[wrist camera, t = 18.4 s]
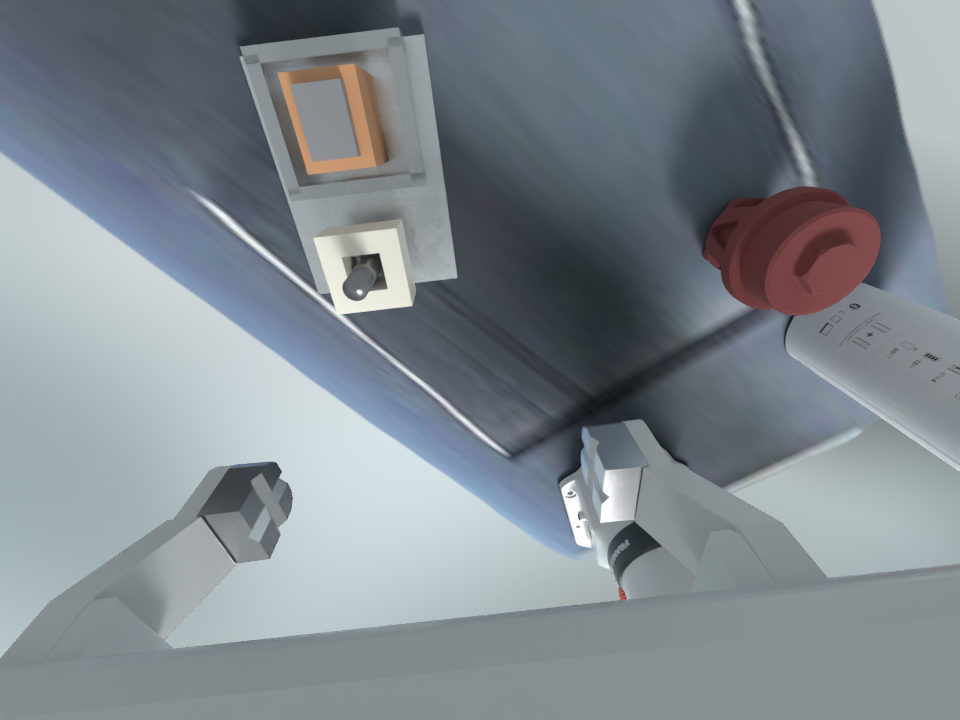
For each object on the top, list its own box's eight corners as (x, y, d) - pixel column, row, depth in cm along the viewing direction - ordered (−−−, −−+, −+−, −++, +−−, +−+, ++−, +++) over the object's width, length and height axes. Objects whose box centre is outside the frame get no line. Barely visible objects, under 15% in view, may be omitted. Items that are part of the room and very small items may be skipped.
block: (371, 75, 30) (350, 60, 24) (389, 161, 33) (373, 167, 27) (308, 82, 30) (270, 70, 24) (331, 168, 33) (303, 176, 27)
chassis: (457, 274, 40) (457, 321, 30) (322, 289, 40) (277, 342, 30) (425, 37, 30) (408, -10, 20) (246, 59, 30) (142, 23, 20)
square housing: (416, 290, 36) (412, 305, 33) (347, 298, 36) (337, 314, 33) (402, 218, 32) (396, 228, 29) (326, 227, 33) (313, 237, 29)
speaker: (800, 377, 49) (1093, 586, 26) (766, 325, 45) (1077, 521, 22) (889, 321, 45) (1313, 508, 23) (860, 260, 41) (1342, 414, 19)
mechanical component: (683, 291, 42) (679, 197, 37) (778, 263, 41) (788, 162, 36) (759, 345, 31) (769, 224, 26) (891, 309, 30) (926, 175, 25)
